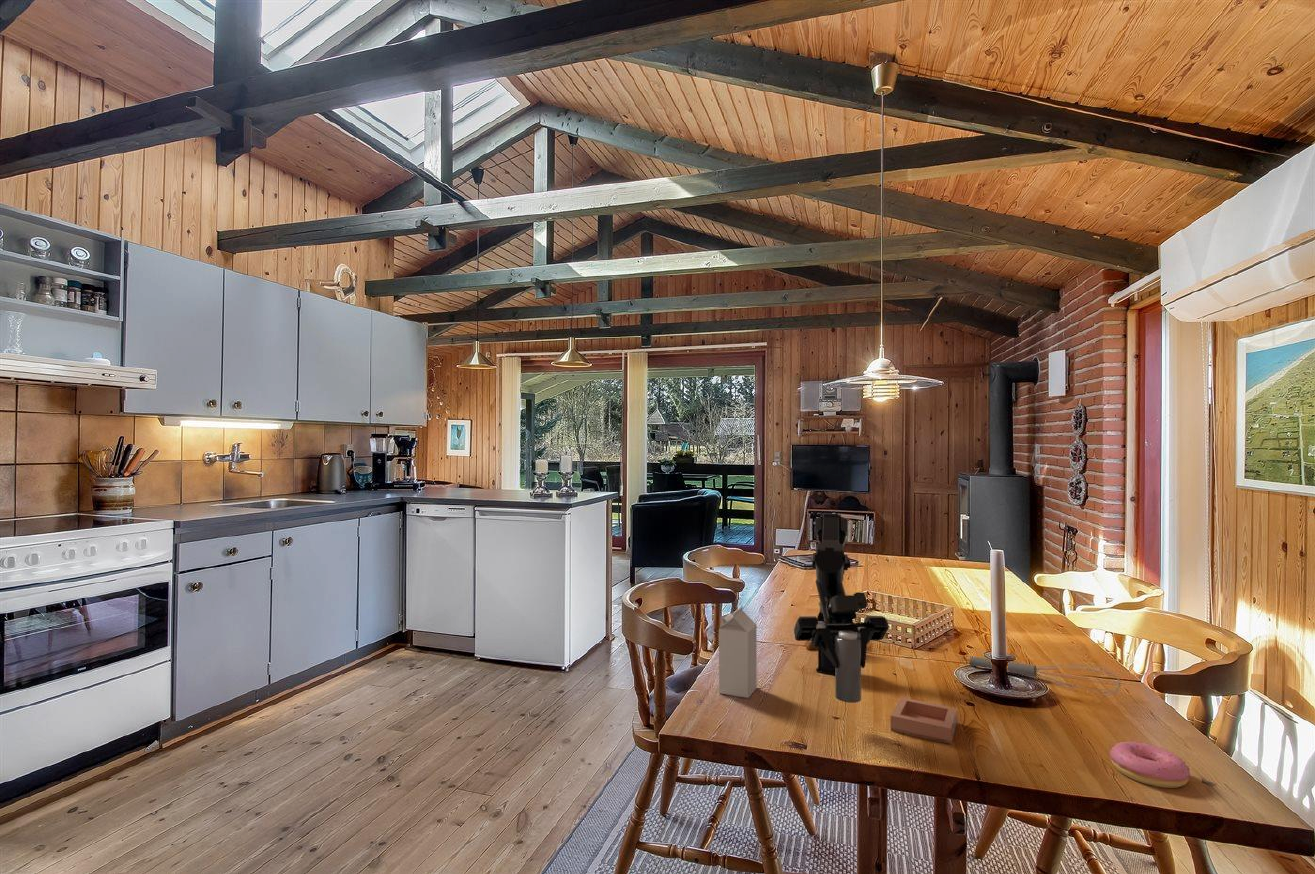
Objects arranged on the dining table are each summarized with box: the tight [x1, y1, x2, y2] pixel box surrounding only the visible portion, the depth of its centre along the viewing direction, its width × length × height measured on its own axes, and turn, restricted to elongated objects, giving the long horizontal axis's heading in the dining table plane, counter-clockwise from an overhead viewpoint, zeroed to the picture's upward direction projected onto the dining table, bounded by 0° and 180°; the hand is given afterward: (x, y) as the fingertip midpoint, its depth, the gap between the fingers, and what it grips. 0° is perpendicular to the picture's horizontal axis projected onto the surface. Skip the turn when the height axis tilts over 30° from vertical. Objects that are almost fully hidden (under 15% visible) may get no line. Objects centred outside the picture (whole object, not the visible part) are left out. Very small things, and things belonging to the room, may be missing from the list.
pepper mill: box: [834, 630, 862, 704], centre depth 123 cm, size 5×5×13 cm
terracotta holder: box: [890, 696, 958, 745], centre depth 124 cm, size 11×11×3 cm
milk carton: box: [718, 605, 758, 699], centre depth 143 cm, size 7×7×19 cm
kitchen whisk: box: [961, 655, 1122, 697], centre depth 150 cm, size 6×34×6 cm, turn 48°
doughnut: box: [1108, 740, 1191, 789], centre depth 106 cm, size 11×11×4 cm
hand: (850, 667), depth 122 cm, fingers closed on pepper mill, 5 cm apart
